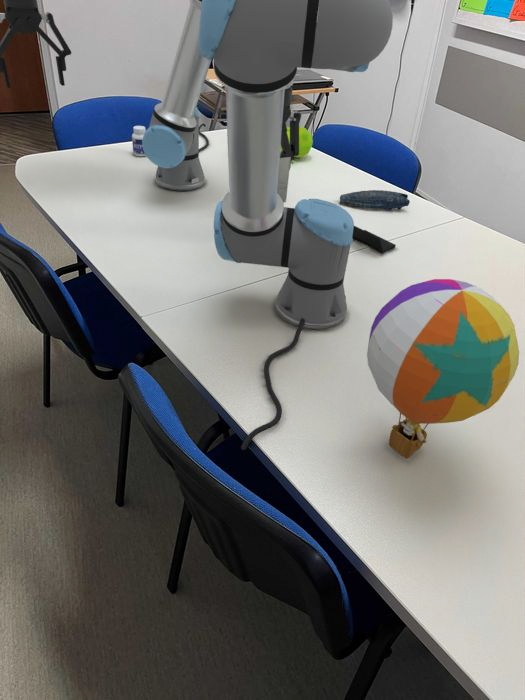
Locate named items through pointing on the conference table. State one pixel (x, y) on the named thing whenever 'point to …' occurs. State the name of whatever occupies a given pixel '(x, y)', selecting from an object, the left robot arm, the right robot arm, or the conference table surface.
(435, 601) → the conference table surface
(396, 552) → the conference table surface
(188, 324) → the conference table surface
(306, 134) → the decorative tree
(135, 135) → the pill bottle
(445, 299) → the toy
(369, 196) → the fish model
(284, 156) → the metal block
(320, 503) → the conference table surface
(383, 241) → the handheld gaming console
